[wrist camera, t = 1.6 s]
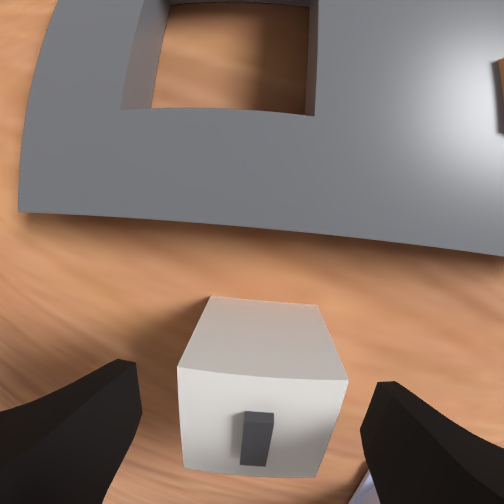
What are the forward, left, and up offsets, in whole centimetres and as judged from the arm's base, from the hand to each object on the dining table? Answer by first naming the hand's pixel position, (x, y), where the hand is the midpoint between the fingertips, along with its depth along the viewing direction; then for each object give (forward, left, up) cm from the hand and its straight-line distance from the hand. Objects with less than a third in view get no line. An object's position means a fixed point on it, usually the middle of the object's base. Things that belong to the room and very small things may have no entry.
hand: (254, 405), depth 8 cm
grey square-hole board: (+11, -2, -4) cm, 12 cm away
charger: (0, 0, -4) cm, 4 cm away
